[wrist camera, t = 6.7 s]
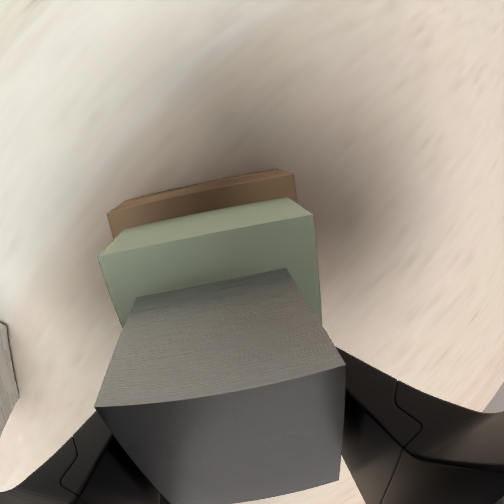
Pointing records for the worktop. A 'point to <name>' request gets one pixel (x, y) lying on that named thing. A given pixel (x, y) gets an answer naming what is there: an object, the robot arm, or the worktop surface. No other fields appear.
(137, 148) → the worktop surface
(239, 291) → the cube
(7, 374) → the skincare box
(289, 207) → the top block
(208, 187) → the base block
